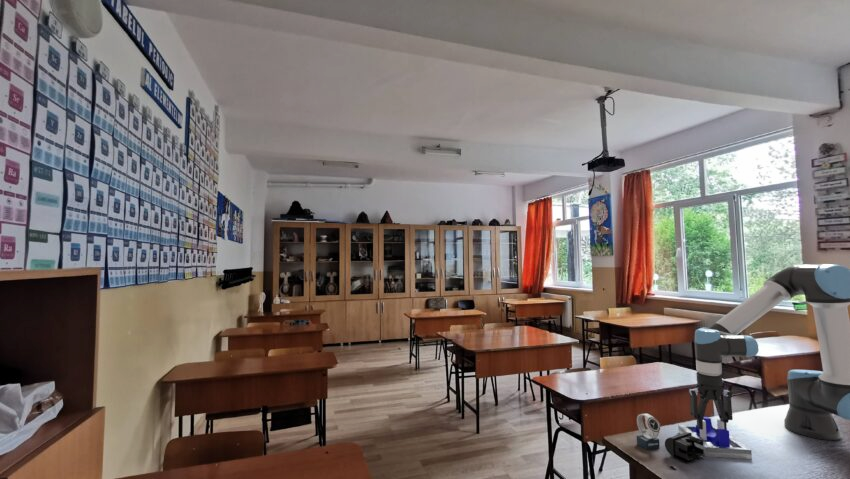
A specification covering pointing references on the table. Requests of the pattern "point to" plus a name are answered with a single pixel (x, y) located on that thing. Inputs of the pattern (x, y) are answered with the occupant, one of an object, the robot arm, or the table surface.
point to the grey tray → (715, 451)
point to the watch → (647, 439)
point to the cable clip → (715, 434)
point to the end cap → (684, 448)
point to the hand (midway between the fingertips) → (712, 438)
